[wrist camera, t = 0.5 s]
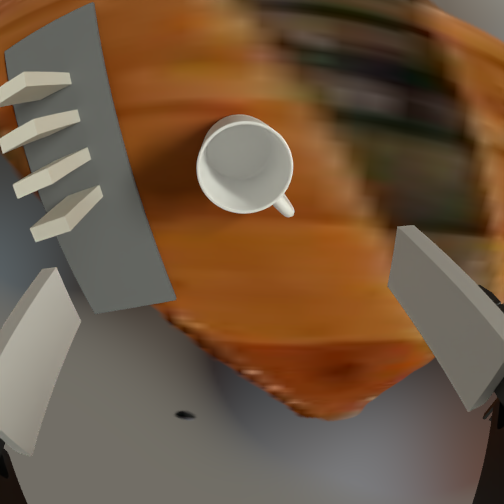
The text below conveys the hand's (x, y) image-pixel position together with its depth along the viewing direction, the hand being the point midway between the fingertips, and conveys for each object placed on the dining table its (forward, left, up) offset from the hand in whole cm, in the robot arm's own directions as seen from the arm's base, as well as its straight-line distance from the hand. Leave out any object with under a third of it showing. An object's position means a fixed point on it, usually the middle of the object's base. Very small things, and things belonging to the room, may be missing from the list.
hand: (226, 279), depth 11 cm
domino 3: (-4, -18, -26) cm, 32 cm away
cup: (+2, +3, -27) cm, 27 cm away
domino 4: (+1, -18, -26) cm, 32 cm away
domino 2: (-9, -18, -26) cm, 33 cm away
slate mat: (-2, -18, -27) cm, 32 cm away
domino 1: (-14, -18, -26) cm, 35 cm away
